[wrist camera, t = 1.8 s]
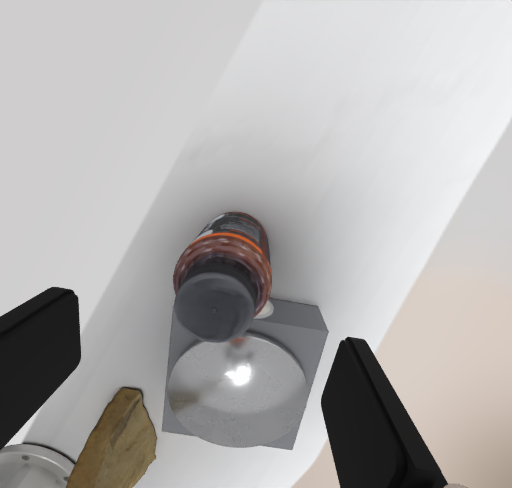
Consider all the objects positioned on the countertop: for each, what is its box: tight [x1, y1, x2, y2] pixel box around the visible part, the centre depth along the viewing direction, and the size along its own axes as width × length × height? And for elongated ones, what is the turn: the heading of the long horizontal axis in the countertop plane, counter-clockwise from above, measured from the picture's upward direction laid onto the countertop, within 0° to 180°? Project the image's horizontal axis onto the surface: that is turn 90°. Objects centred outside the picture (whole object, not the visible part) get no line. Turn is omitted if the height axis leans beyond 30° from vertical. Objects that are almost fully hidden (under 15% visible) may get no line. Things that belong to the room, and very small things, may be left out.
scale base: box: [162, 298, 328, 450], centre depth 24 cm, size 14×13×4 cm
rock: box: [66, 388, 157, 488], centre depth 26 cm, size 11×9×10 cm
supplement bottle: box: [173, 212, 272, 343], centre depth 18 cm, size 6×6×11 cm
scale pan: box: [168, 332, 308, 448], centre depth 22 cm, size 12×12×1 cm
